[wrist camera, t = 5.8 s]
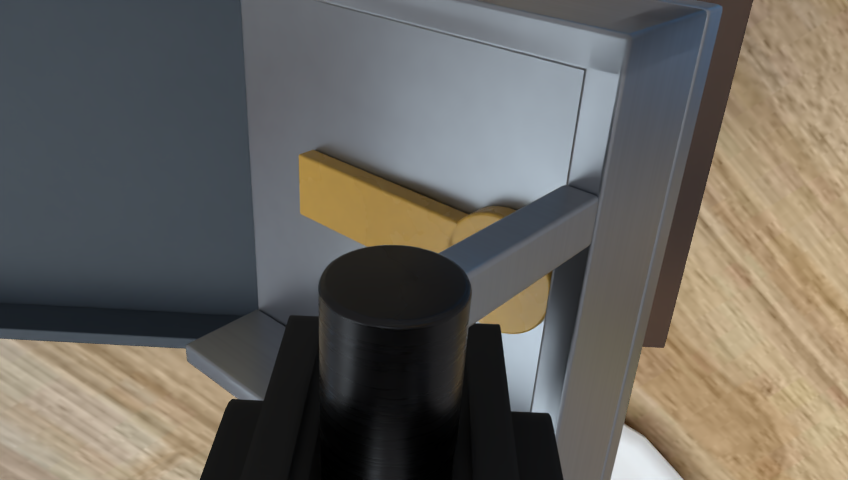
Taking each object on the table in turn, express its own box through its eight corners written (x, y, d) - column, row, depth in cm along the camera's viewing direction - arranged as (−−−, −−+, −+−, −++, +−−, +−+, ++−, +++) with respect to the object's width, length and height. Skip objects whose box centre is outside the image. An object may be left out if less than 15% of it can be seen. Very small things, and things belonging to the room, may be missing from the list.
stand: (319, -128, 27) (254, -101, 18) (653, -107, 27) (771, -69, 18) (322, 179, 33) (275, 327, 23) (598, 195, 33) (665, 349, 23)
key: (313, 128, 18) (297, 133, 18) (573, 231, 14) (559, 241, 14) (314, 226, 19) (299, 232, 19) (554, 345, 15) (540, 356, 15)
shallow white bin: (274, 316, 23) (12, 451, 18) (255, -82, 18) (-129, -61, 12) (622, 532, 17) (376, 845, 11) (758, 10, 11) (412, 137, 6)
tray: (-340, -96, 28) (-406, -90, 26) (290, -58, 28) (278, -48, 26) (-186, 296, 36) (-226, 326, 34) (301, 323, 37) (292, 354, 34)
